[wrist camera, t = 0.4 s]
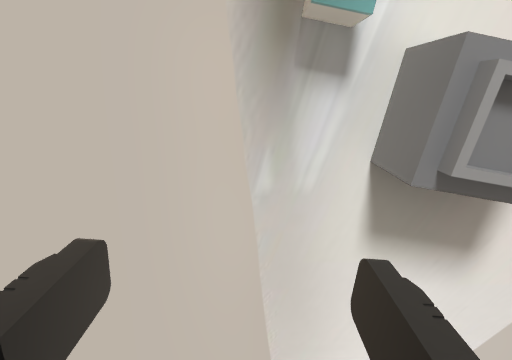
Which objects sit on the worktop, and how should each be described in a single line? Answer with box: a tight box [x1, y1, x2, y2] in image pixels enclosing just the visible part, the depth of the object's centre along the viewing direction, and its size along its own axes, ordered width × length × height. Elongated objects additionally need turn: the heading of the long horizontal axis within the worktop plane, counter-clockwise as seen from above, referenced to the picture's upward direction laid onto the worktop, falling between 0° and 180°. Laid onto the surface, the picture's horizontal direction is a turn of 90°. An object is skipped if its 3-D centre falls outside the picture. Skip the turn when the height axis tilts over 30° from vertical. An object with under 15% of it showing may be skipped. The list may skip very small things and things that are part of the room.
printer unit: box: [370, 31, 512, 204], centre depth 30 cm, size 15×16×12 cm
